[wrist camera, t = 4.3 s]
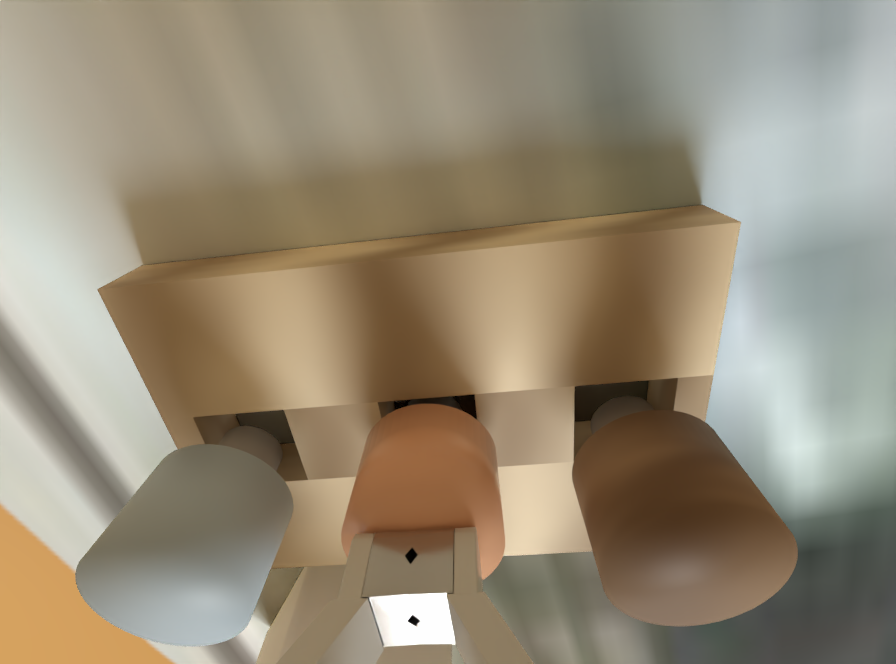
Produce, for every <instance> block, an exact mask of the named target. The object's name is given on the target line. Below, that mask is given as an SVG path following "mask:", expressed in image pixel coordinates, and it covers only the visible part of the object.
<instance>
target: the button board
mask: <svg viewBox="0 0 896 664" xmlns="http://www.w3.org/2000/svg"><path fill="white" fill-rule="evenodd" d="M740 224H741V222H740V221H737V220H735V219H733V218H731V217H728V216H726V215H724V214H722V213H720V212H717V211H715V210H713V209H711V208H709V207H706V206H704V205H697V206H688V207H678V208H669V209H660V210H650V211H641V212H632V213H623V214H613V215H604V216H595V217H586V218H576V219H567V220H558V221H549V222H539V223H530V224H521V225H512V226H502V227H493V228H484V229H475V230H465V231H456V232H447V233H438V234H428V235H419V236H410V237H400V238H391V239H382V240H373V241H363V242H354V243H345V244H336V245H326V246H317V247H308V248H299V249H289V250H280V251H271V252H262V253H252V254H243V255H234V256H225V257H215V258H206V259H197V260H188V261H178V262H169V263H160V264H150V265H142V266H140V267H138V268H137V269H135V270H133V271H131V272H129V273H127V274H125V275H123V276H122V277H120V278H118V279H116V280H114V281H112V282H110V283H108V284H107V285H105V286H103V287H101V288H99V289H97V290H98V292H99V294H100V296H101V298H102V300H103V302H104V304H105V306H106V308H107V310H108V312H109V314H110V316H111V318H112V320H113V322H114V324H115V326H116V328H117V329H118V331H119V333H120V335H121V337H122V339H123V341H124V343H125V345H126V347H127V349H128V351H129V353H130V355H131V357H132V359H133V361H134V363H135V365H136V367H137V369H138V371H139V373H140V375H141V377H142V379H143V381H144V383H145V385H146V387H147V389H148V391H149V393H150V395H151V397H152V399H153V401H154V403H155V405H156V407H157V409H158V411H159V413H160V415H161V417H162V419H163V421H164V423H165V425H166V427H167V429H168V431H169V433H170V435H171V437H172V439H173V441H174V442H175V444H176V446H177V448H178V449H180V448H183V447H187V446H191V445H198V444H214V445H218V444H219V442H220V441H221V439H222V438H223V436H224V435H225V434H226V433H227V432H228V431H229V430H231V429H232V428H235V427H239V426H240V425H239V423H238V420H237V418H236V415H235V414H237V413H250V412H262V411H274V410H284V412H285V415H286V418H287V421H288V424H289V427H290V430H291V432H292V435H293V438H294V441H295V443H288V444H280V445H281V447H282V451H283V457H282V460H281V462H280V464H279V466H278V469H277V471H276V472H277V473H278V474H279V475H280V476H281V477H282V478H283V480H284V481H285V483H286V484H287V486H288V488H289V490H290V492H291V495H292V498H293V513H292V517H291V519H290V522H289V524H288V527H287V529H286V532H285V534H284V537H283V539H282V542H281V544H280V547H279V549H278V552H277V554H276V557H275V559H274V562H273V564H272V567H271V569H272V568H291V567H309V566H328V565H346V562H347V556H346V554H345V552H344V550H343V546H342V542H341V532H342V526H343V522H344V519H345V515H346V512H347V508H348V504H349V501H350V497H351V493H352V490H353V486H354V482H355V479H356V475H357V471H358V468H359V464H360V460H361V457H362V453H363V449H364V446H365V442H366V439H367V437H368V435H369V433H370V431H371V429H372V428H373V427H374V425H375V424H376V423H377V422H378V421H379V420H380V419H382V418H383V417H384V416H386V415H387V414H389V413H391V412H393V411H395V410H396V409H395V405H394V401H398V400H410V399H423V398H435V397H448V396H460V395H472V394H475V404H476V413H477V420H478V421H479V422H480V423H481V424H482V425H483V426H484V427H485V428H486V429H487V430H488V432H489V433H490V435H491V437H492V439H493V441H494V444H495V447H496V453H497V463H498V473H499V483H500V493H501V503H502V513H503V523H504V533H505V550H504V554H503V556H513V555H531V554H550V553H568V552H587V551H592V547H591V544H590V540H589V537H588V533H587V530H586V527H585V523H584V520H583V516H582V513H581V509H580V506H579V502H578V499H577V496H576V492H575V489H574V485H573V481H572V468H573V464H574V460H575V458H576V455H577V453H578V451H579V450H580V448H581V447H582V445H583V444H584V443H585V442H586V441H587V439H588V438H589V437H591V436H592V435H593V434H592V432H591V428H590V423H591V421H580V422H574V395H575V386H583V385H596V384H608V383H621V382H633V381H645V380H649V384H648V394H647V401H648V402H649V403H650V404H651V405H652V406H653V408H654V409H655V410H674V411H679V412H684V413H687V414H690V415H693V416H695V417H697V418H699V419H701V420H702V421H704V422H705V419H706V413H707V408H708V402H709V397H710V391H711V385H712V380H713V374H714V369H715V363H716V358H717V352H718V347H719V341H720V335H721V330H722V324H723V319H724V313H725V308H726V302H727V297H728V291H729V285H730V280H731V274H732V269H733V263H734V258H735V252H736V247H737V241H738V235H739V230H740Z"/></svg>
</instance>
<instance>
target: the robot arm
mask: <svg viewBox="0 0 896 664" xmlns="http://www.w3.org/2000/svg"><path fill="white" fill-rule="evenodd" d="M417 644H456V647H457V649H458V651H459V653H460V655H461V656H462V658H463V660H464V662H465V664H534V663H533V662H532V660H531V659H530V657H529V656H528V654H527V653H526V651H525V650H524V648H523V647H522V646H521V644H520V643H519V641H518V640H517V638H516V637H515V635H514V634H513V633H512V631H511V630H510V628H509V627H508V625H507V624H506V622H505V621H504V619H503V618H502V617H501V615H500V614H499V612H498V611H497V609H496V608H495V606H494V605H493V604H492V602H491V601H490V599H489V598H488V596H487V595H486V593H485V592H483V583H482V572H481V561H480V552H479V544H478V536H477V529H476V527H465V528H443V529H430V530H417V531H415V532H384V533H362V534H355V536H354V538H353V539H352V542H351V546H350V550H349V554H348V558H347V562H346V566H345V571H344V575H343V579H342V583H341V587H340V591H339V595H338V599H336V600H331V601H330V602H329V603H328V604H327V605H326V607H325V608H324V609H323V610H322V611H321V612H320V614H319V615H318V616H317V617H316V618H315V619H314V620H313V622H312V623H311V624H310V625H309V626H308V627H307V628H306V630H305V631H304V632H303V633H302V634H301V635H300V637H299V638H298V639H297V640H296V641H295V642H294V643H293V645H292V646H291V647H290V648H289V649H288V650H287V651H286V653H285V654H284V655H283V656H282V657H281V658H280V660H279V661H278V662H277V663H276V664H375V663H376V662H377V660H378V658H379V657H380V655H381V654H382V652H383V650H384V648H383V647H389V646H403V645H417Z"/></svg>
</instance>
